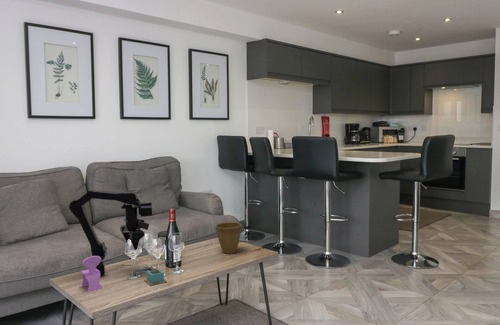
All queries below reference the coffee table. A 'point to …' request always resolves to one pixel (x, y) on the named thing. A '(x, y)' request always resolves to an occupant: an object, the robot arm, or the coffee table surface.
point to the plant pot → (228, 236)
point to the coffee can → (163, 237)
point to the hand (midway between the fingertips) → (132, 247)
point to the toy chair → (91, 273)
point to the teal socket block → (155, 276)
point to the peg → (157, 282)
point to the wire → (142, 270)
